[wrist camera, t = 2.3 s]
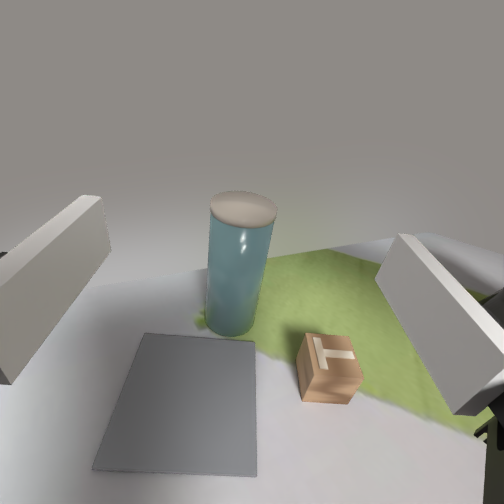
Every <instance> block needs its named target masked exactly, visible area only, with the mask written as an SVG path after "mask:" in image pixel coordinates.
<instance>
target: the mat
mask: <svg viewBox="0 0 504 504" xmlns="http://www.w3.org/2000/svg"><path fill="white" fill-rule="evenodd" d="M92 470H106V471H128V472H151V473H173V474H195V475H218V476H240V477H257V441H256V374H255V342H247V341H235V340H223V339H211V338H199V337H187V336H175V335H163V334H151V333H145V334H144V336H143V339H142V341H141V344H140V346H139V349H138V351H137V354H136V356H135V359H134V361H133V364H132V366H131V369H130V372H129V374H128V377H127V379H126V382H125V384H124V387H123V389H122V392H121V394H120V397H119V399H118V402H117V405H116V407H115V410H114V412H113V415H112V417H111V420H110V422H109V425H108V427H107V430H106V432H105V435H104V438H103V440H102V443H101V445H100V448H99V450H98V453H97V455H96V458H95V460H94V463H93V465H92Z"/></svg>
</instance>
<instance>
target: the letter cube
mask: <svg viewBox="0 0 504 504" xmlns="http://www.w3.org/2000/svg"><path fill="white" fill-rule="evenodd" d="M296 365H297V372H298V378H299V385H300V392H301V398H302V401H303V402H318V403H333V404H348V403H349V401H350V400H351V398H352V397H353V395H354V394H355V392H356V390H357V389H358V387H359V386H360V384H361V383H362V381H363V380H364V377H363V374H362V371H361V368H360V366H359V363H358V360H357V357H356V355H355V352H354V349H353V346H352V344H351V341H350V338H349V336H337V335H326V334H314V333H305V336H304V338H303V341H302V344H301V346H300V349H299V352H298V354H297V357H296Z"/></svg>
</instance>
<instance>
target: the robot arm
mask: <svg viewBox="0 0 504 504" xmlns="http://www.w3.org/2000/svg"><path fill="white" fill-rule="evenodd" d="M110 252H111V246H110V241H109V235H108V229H107V224H106V218H105V214H104V207H103V202H102V197H97V196H89V195H82V196H80V197H79V198H78V199H77V200H75V201H74V202H73V203H71V204H70V205H69V206H68V207H66V208H65V209H64V210H62V211H61V212H60V213H59V214H57V215H56V216H55V217H53V218H52V219H51V220H50V221H48V222H47V223H46V224H44V225H43V226H42V227H41V228H39V229H38V230H37V231H35V232H34V233H33V234H31V235H30V236H29V237H28V238H26V239H25V240H24V241H23V242H21V243H20V244H19V245H17V246H16V247H15V248H14V249H12V250H11V251H10V252H2V253H0V384H3V385H12V383H13V382H14V381H15V379H16V378H17V377H18V375H19V374H20V373H21V371H22V370H23V369H24V367H25V366H26V365H27V363H28V362H29V361H30V359H31V358H32V357H33V355H34V354H35V353H36V351H37V350H38V349H39V347H40V346H41V345H42V343H43V342H44V341H45V339H46V338H47V337H48V335H49V334H50V333H51V331H52V330H53V329H54V327H55V326H56V324H57V323H58V322H59V320H60V319H61V318H62V316H63V315H64V314H65V312H66V311H67V310H68V308H69V307H70V306H71V304H72V303H73V302H74V300H75V299H76V298H77V296H78V295H79V294H80V292H81V291H82V290H83V288H84V287H85V286H86V284H87V283H88V281H89V280H90V279H91V278H92V276H93V275H94V274H95V272H96V271H97V269H98V268H99V267H100V265H101V264H102V263H103V261H104V260H105V259H106V257H107V256H108V255H109V253H110ZM375 281H376V282H377V284H378V286H379V288H380V289H381V291H382V293H383V295H384V296H385V298H386V300H387V301H388V303H389V305H390V307H391V308H392V310H393V312H394V314H395V315H396V317H397V319H398V320H399V322H400V324H401V326H402V327H403V329H404V331H405V333H406V334H407V336H408V338H409V339H410V341H411V343H412V345H413V346H414V348H415V350H416V351H417V353H418V355H419V357H420V358H421V360H422V362H423V364H424V365H425V367H426V369H427V370H428V372H429V374H430V376H431V377H432V379H433V381H434V383H435V384H436V386H437V388H438V389H439V391H440V393H441V395H442V396H443V398H444V400H445V402H446V403H447V405H448V407H449V408H450V410H451V412H452V414H453V415H466V416H476V415H478V414H479V413H480V412H481V411H482V410H484V409H485V408H486V407H487V406H488V407H489V408H490V409H491V411H492V412H493V414H494V415H495V416H494V417H492V418H491V419H490V420H488V421H487V422H486V423H485V424H483V425H482V426H481V427H479V428H478V429H477V430H476V431H475V433H474V436H476V437H477V438H478V437H479V436H481V435H482V434H483V433H487V439H485V440H484V441H483V442H484V443H486V444H487V449H486V464H485V480H484V496H483V504H504V288H503V289H501V290H500V291H498V292H496V293H494V294H492V295H490V296H489V297H487V298H485V299H483V300H481V301H479V302H477V301H476V300H475V299H474V298H473V297H472V296H471V295H470V294H469V293H468V292H467V291H466V290H465V289H464V287H463V286H462V285H461V284H460V283H459V282H458V281H457V280H456V279H455V278H454V277H453V276H452V275H451V274H450V273H449V272H448V271H447V270H446V269H445V268H444V267H443V266H442V264H441V263H440V262H439V261H438V260H437V259H436V258H435V257H434V256H433V255H432V254H431V253H430V252H429V251H428V250H427V249H426V248H425V247H424V246H423V245H422V244H421V243H420V241H419V240H418V239H417V238H416V237H415V236H414V235H408V234H399V233H398V234H397V236H396V237H395V239H394V241H393V243H392V245H391V247H390V249H389V251H388V253H387V255H386V257H385V259H384V261H383V263H382V265H381V267H380V269H379V271H378V273H377V275H376V277H375Z"/></svg>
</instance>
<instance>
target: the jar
mask: <svg viewBox="0 0 504 504" xmlns="http://www.w3.org/2000/svg"><path fill="white" fill-rule="evenodd" d="M210 212H211V217H210V236H209V253H208V272H207V290H206V308H205V320H206V323H207V325H208V327H209V328H210V329H211V330H212V331H214V332H215V333H217V334H219V335H222V336H227V337H235V336H240V335H242V334H244V333H246V332H248V331H249V330H250V329H251V327H252V326H253V323H254V319H255V314H256V309H257V304H258V299H259V294H260V289H261V284H262V279H263V274H264V269H265V264H266V259H267V254H268V249H269V244H270V240H271V235H272V230H273V224H274V221H275V218H276V214H277V206H276V205H275V204H274V202H272V201H271V200H270V199H267V198H266V197H264V196H261V195H258V194H255V193H250V192H245V191H227V192H222V193H219V194H216V195H215V196H213V197H212V199H211V203H210Z"/></svg>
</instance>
